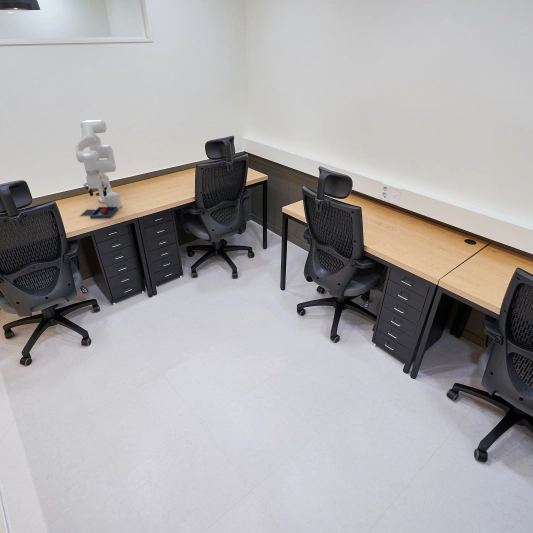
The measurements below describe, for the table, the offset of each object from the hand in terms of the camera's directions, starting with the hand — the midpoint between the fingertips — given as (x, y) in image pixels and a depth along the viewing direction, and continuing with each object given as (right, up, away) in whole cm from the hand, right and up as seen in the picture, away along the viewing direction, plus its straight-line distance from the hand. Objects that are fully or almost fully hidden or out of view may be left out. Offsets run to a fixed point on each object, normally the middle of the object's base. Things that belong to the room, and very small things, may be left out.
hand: (98, 195), depth 253 cm
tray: (0, -12, +9) cm, 15 cm away
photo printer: (+3, -6, +19) cm, 20 cm away
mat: (-13, -11, +11) cm, 20 cm away
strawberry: (0, -12, +9) cm, 15 cm away
